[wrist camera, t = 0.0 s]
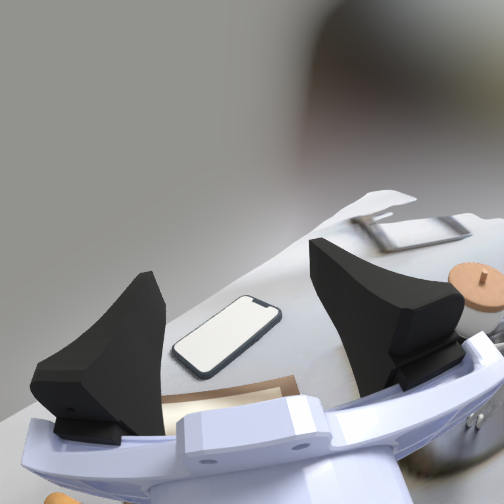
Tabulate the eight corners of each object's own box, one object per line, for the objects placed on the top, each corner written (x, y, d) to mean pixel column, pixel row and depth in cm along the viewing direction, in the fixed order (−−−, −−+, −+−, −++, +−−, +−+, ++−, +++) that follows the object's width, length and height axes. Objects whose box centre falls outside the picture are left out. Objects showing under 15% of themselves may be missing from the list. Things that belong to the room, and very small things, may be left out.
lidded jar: (483, 302, 34) (497, 252, 30) (504, 347, 25) (528, 292, 21) (430, 304, 37) (441, 252, 33) (445, 354, 28) (466, 297, 24)
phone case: (207, 385, 33) (286, 318, 42) (203, 378, 32) (285, 310, 41) (171, 354, 39) (245, 299, 48) (167, 347, 38) (244, 292, 47)
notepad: (331, 495, 17) (332, 493, 17) (127, 511, 16) (122, 509, 16) (293, 377, 31) (293, 373, 31) (138, 400, 30) (135, 396, 30)
